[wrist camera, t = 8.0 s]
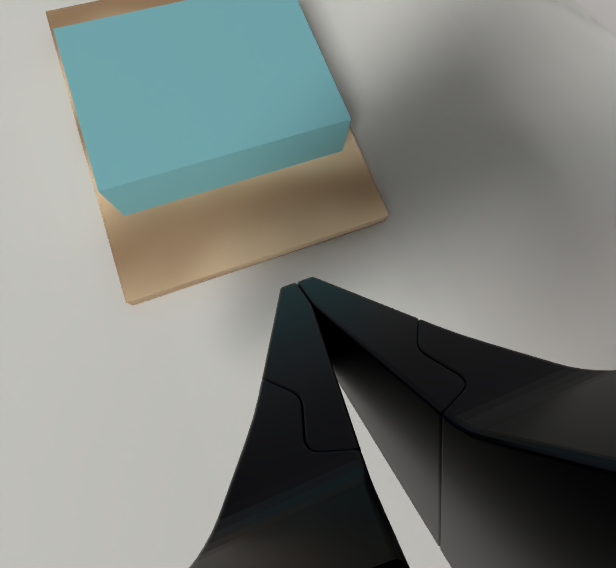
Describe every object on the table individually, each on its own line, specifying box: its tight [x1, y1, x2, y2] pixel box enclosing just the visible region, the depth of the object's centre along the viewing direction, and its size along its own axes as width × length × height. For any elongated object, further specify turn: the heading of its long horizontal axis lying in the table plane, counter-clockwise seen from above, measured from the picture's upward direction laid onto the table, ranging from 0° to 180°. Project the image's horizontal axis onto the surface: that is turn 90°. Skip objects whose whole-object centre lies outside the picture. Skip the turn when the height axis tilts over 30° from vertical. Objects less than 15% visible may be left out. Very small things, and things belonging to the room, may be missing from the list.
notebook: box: [53, 0, 351, 216], centre depth 18 cm, size 3×12×9 cm
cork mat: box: [46, 0, 389, 305], centre depth 20 cm, size 18×14×1 cm
